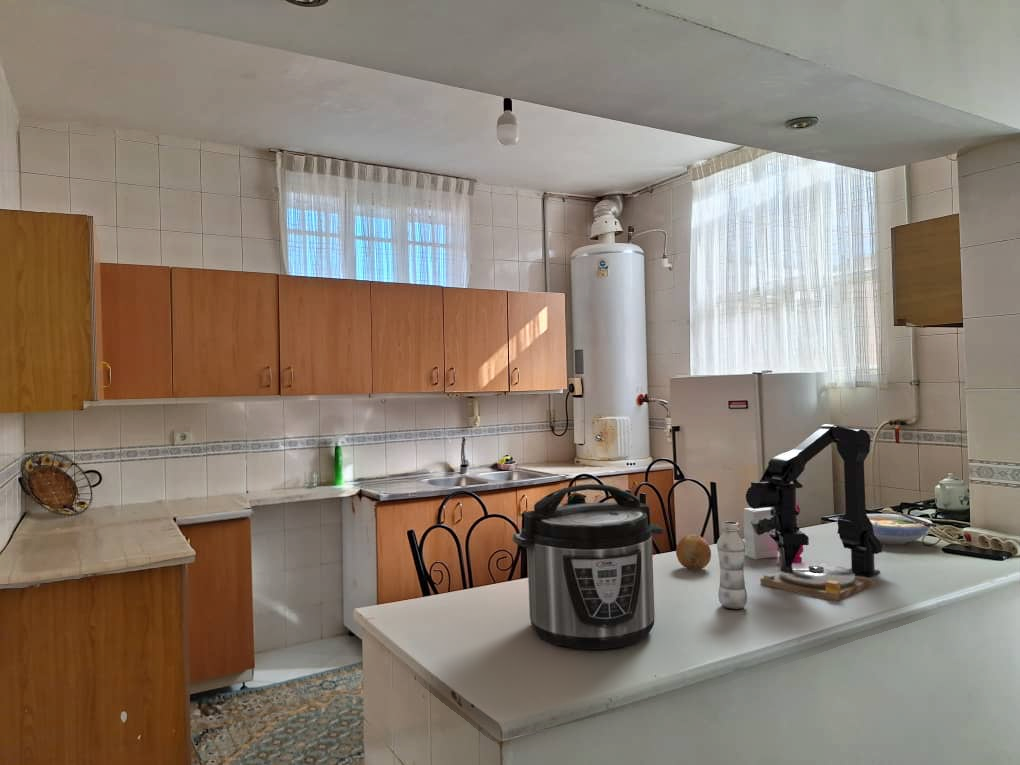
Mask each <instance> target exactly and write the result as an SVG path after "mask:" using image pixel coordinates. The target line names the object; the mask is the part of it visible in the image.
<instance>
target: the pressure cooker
mask: <svg viewBox="0 0 1020 765" xmlns="http://www.w3.org/2000/svg"><path fill="white" fill-rule="evenodd" d="M580 491H581V492H583V491H602V492H607V493H608V494H609V495H610V496H611V498H613V500H614V501H615V502H614V503H613V502H586V498H588V497H587V496H586V494H585V495H584V494H582V493H579V492H580ZM567 493H571V494H570V495H569V496H568V497H567V500H566V502H567V504H563V505H560V504H561V502H562V501H563V499H564V498H565V497H566V495H567ZM523 524H524V525H523V528H522V529H521V532H520V533H515V534H513V535H512V541H513V542H514V543H515V544H516V545H517V546H520V547H522V548H526V549H527V552H526V554H527V573H528V574H527V576H528V578H527V580H528V600H529V601H528V603H529V604H528V605H529V618H530V624H531V626H532V629H533V630H534V632H535V633H536V634H537V636H538V637H539V638H541V639H542V640H545V641H547V642H549V643H551V644H554V645H557V646H558V645H559V646H561V647H562V646H563V647H566V648H573V649H583V650H605V649H606V650H607V649H614V648H616V649H617V648H620V647H626V646H630V645H632V644H636V643H639V642H641V641H642V640H643V639H645V638H646V637H647V636H648V635H649V634H650V632H651V631H652V629H653V627H654V624H655V620H656V619H655V618H656V615H655V614H656V613H655V593H654V592H655V589H654V585H655V584H654V560H653V536H654V535H663V534H664V529H663V527H662V526H659V525H658V524H653V523H651V514H650V506H648V505H647V504H645V503H643V502H642V503H641V500H640V499H639V497H638V496H636V495H635V494H632V493H631V492H629V491H627V490H625V489H622V488H620V487H616V486H611V485H606V484H598V483H597V484H596V483H592V484H589V483H586V484H578V485H577V484H576V485H573V486H568V487H564V488H561V489H558V490H556V491H553V492H551V493H548V494H546V495H545V496H544V497H543V498H540V499H539V500H538V501H536V502H535V503H534V505H533V510H529V511H528V510H527V511H525V512H524V514H523Z"/></svg>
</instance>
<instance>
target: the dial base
mask: <svg viewBox="0 0 1020 765" xmlns="http://www.w3.org/2000/svg"><path fill="white" fill-rule="evenodd" d="M760 585H762V586H765V587H766V586H767V587H772V588H775V589H780V590H781V589H782V590H785V591H789V592H794V593H799V594H803V595H808V596H811V597H816V598H820V599H825V600H830V601H834V602H838V601H840V600H842V599H844V598H847V597H849V596H852V595H853V594H855V593H858V592H861V591H863V590H865V589H868V588H870V587H872V586H874V579H873V578H869V577H864V576H863V577H862V576H860V575H859V576H858V575H855V583H854V584H853V585H850V586H847V587H840V582H837V581H832V580H829V581H827V582H826V588H818V587H809V586H802V585H798V584H793V583H790V582H787V581H785V580H783V579H782V578H780V576H779V571H778V572H775V573H772V574H770V573H767V574H766V573H765V574H764V575H763V577H761V578H760Z"/></svg>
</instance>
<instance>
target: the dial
mask: <svg viewBox="0 0 1020 765" xmlns="http://www.w3.org/2000/svg"><path fill="white" fill-rule="evenodd" d="M779 556H780V562H779V568H778V570H779V571H778V572H779V576H780V578H782V579H783V580H785V581H787V582H790V583H793V584H798V585H802V586H809V587H818V588H826V582H827V581H829V580H832V581H837V582H840V587H847V586H850V585H853V584H854V583H855V576H856V574H854V572H852V571H851V570H849V569H850V568H849V569H848V568H846V567H844V566H839V565H834V564H830V563H829V564H828V563H822V562H802V563H792V565H791V567H786V564H785V560H784V554H783V549H782V547H780V554H779Z"/></svg>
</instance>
